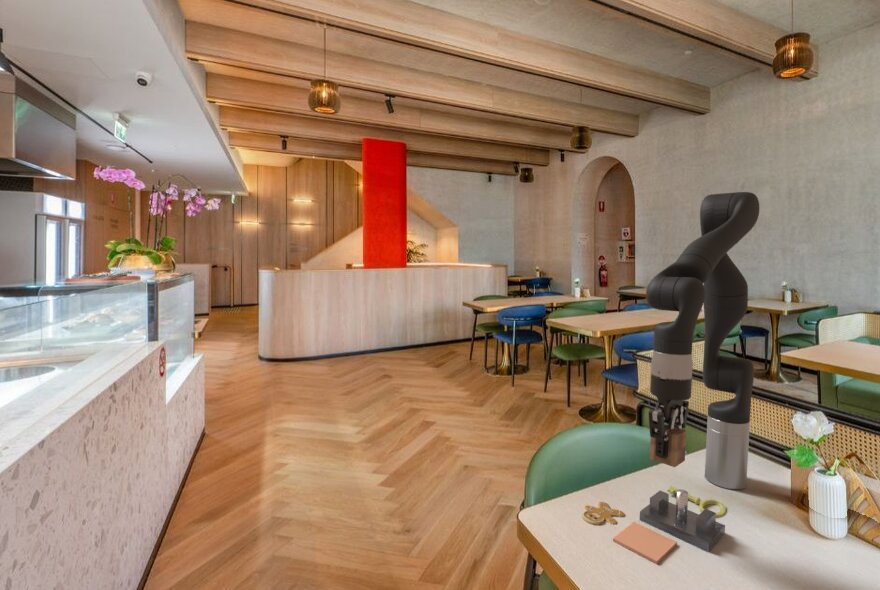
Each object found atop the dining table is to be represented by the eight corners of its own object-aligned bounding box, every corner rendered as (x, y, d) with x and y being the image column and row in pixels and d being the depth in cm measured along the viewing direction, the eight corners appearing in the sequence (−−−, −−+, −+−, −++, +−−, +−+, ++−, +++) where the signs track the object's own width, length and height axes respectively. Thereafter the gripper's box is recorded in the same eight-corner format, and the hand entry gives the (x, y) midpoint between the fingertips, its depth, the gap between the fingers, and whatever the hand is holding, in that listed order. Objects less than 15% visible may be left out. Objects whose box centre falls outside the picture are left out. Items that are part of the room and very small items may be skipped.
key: (668, 492, 110) (668, 484, 110) (725, 507, 103) (726, 499, 103) (664, 505, 104) (664, 497, 104) (725, 523, 97) (726, 514, 97)
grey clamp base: (657, 505, 103) (659, 473, 102) (724, 534, 92) (726, 498, 92) (639, 519, 97) (640, 485, 97) (708, 552, 86) (710, 514, 86)
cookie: (630, 514, 99) (602, 528, 93) (630, 518, 99) (602, 532, 93) (599, 497, 106) (571, 510, 100) (599, 501, 106) (571, 513, 100)
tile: (634, 524, 96) (634, 521, 96) (676, 544, 89) (676, 542, 89) (612, 540, 90) (612, 538, 90) (656, 564, 83) (656, 561, 83)
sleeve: (660, 452, 94) (661, 423, 93) (684, 460, 90) (686, 430, 90) (649, 458, 91) (651, 428, 90) (674, 467, 87) (676, 435, 86)
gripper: (667, 365, 97) (663, 439, 98) (636, 374, 87) (633, 456, 89) (704, 371, 91) (700, 450, 92) (675, 382, 82) (671, 470, 83)
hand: (667, 453), depth 90 cm, fingers closed on sleeve, 5 cm apart
